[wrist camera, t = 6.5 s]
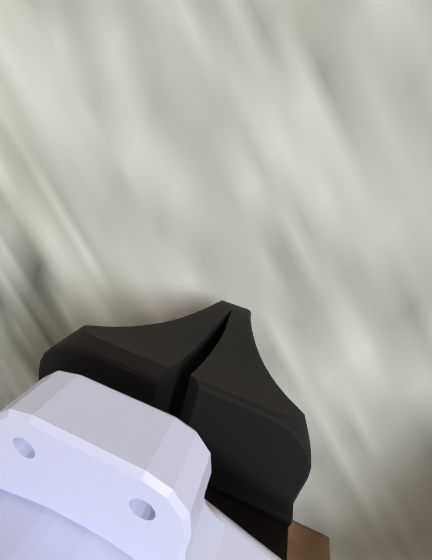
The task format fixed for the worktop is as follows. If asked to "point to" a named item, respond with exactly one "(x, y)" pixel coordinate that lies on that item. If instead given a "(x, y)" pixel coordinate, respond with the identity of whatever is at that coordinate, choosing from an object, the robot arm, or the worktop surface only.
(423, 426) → the worktop surface
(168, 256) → the worktop surface
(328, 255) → the worktop surface
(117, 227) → the worktop surface
